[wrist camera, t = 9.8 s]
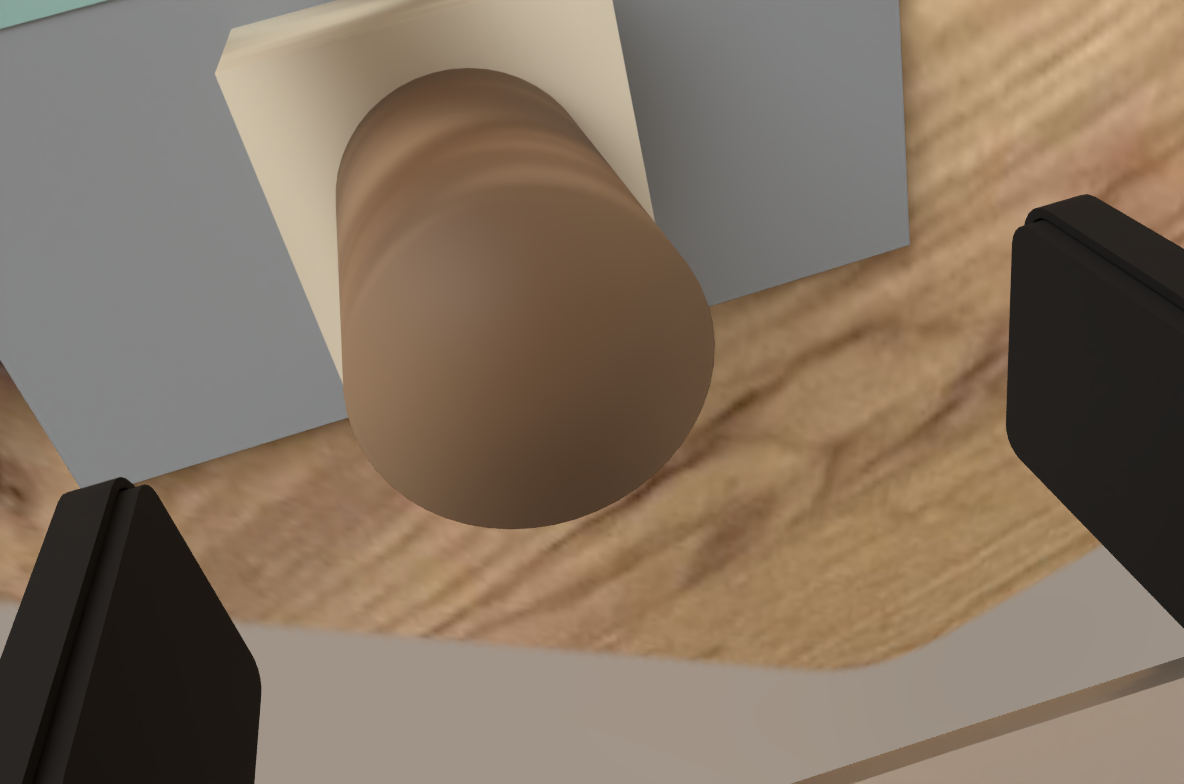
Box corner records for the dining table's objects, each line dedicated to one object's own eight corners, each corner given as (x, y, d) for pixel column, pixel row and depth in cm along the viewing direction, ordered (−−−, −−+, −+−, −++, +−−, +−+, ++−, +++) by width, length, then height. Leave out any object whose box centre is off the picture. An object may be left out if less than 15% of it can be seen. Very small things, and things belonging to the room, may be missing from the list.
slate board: (868, -285, 21) (888, -288, 20) (895, 233, 28) (911, 246, 27) (-205, -7, 19) (-227, 1, 19) (92, 479, 26) (85, 500, 25)
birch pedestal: (560, -61, 21) (605, -34, 18) (624, 240, 25) (671, 309, 22) (231, 28, 21) (214, 73, 17) (347, 323, 24) (352, 407, 21)
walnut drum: (566, 35, 18) (682, 147, 12) (619, 279, 21) (736, 467, 15) (294, 110, 18) (283, 264, 12) (384, 350, 21) (411, 571, 15)
